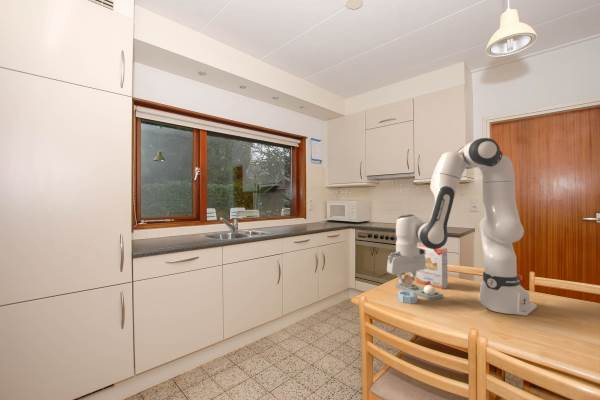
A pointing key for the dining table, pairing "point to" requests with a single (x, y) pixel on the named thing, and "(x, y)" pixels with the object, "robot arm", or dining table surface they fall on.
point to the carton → (420, 291)
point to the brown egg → (407, 280)
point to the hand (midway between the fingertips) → (406, 281)
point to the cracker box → (434, 268)
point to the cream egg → (429, 290)
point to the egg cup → (407, 297)
